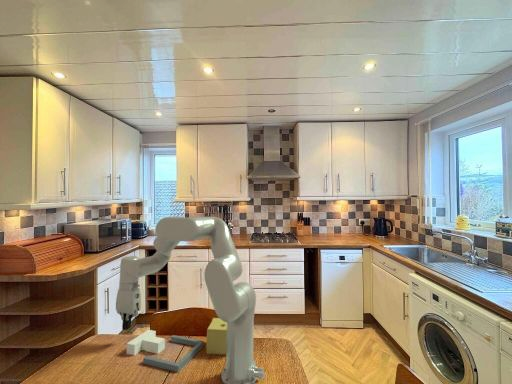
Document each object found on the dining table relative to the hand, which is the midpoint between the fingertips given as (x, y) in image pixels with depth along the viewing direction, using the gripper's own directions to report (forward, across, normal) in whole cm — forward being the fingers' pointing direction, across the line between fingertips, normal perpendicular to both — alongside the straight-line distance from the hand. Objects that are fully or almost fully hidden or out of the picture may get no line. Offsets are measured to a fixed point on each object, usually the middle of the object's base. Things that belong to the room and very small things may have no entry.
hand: (126, 328), depth 108 cm
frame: (+6, -25, 0) cm, 25 cm away
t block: (+6, -13, 0) cm, 14 cm away
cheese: (+6, -41, -10) cm, 42 cm away
